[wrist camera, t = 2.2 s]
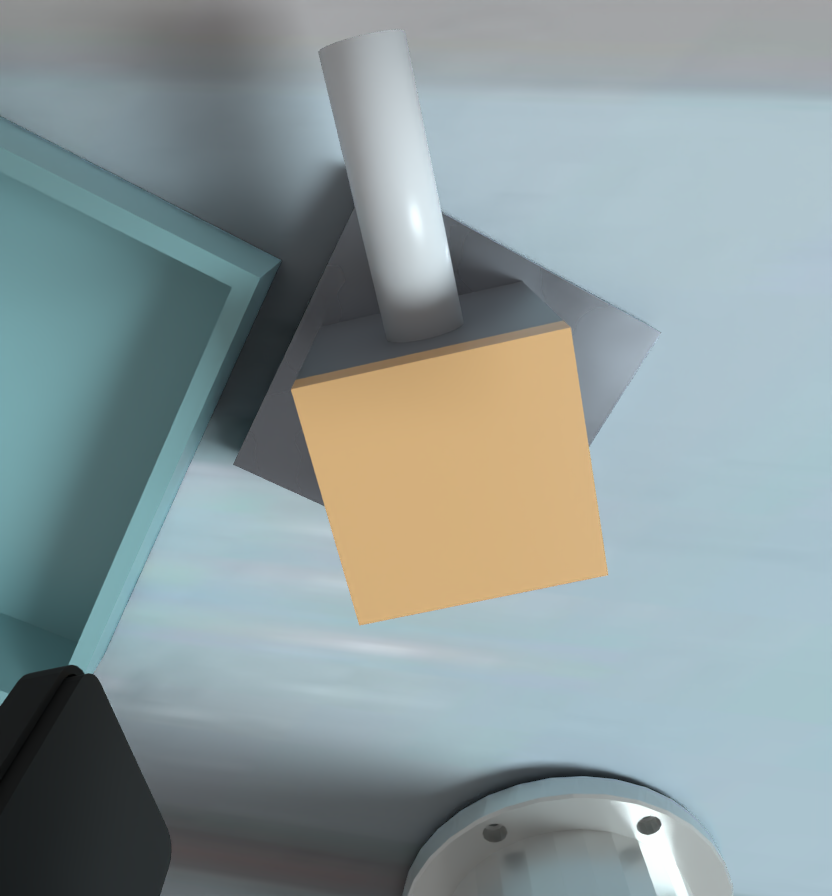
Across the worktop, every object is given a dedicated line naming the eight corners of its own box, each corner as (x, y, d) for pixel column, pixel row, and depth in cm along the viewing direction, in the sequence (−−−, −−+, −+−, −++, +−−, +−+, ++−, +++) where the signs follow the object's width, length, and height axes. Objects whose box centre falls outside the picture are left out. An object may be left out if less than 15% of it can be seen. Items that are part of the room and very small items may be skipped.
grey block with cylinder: (553, 468, 22) (607, 575, 17) (369, 507, 23) (359, 625, 17) (480, 36, 18) (518, -22, 13) (257, 91, 19) (194, 58, 13)
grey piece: (496, 570, 25) (523, 681, 19) (239, 452, 23) (191, 538, 18) (650, 325, 22) (730, 377, 17) (371, 172, 20) (361, 176, 15)
